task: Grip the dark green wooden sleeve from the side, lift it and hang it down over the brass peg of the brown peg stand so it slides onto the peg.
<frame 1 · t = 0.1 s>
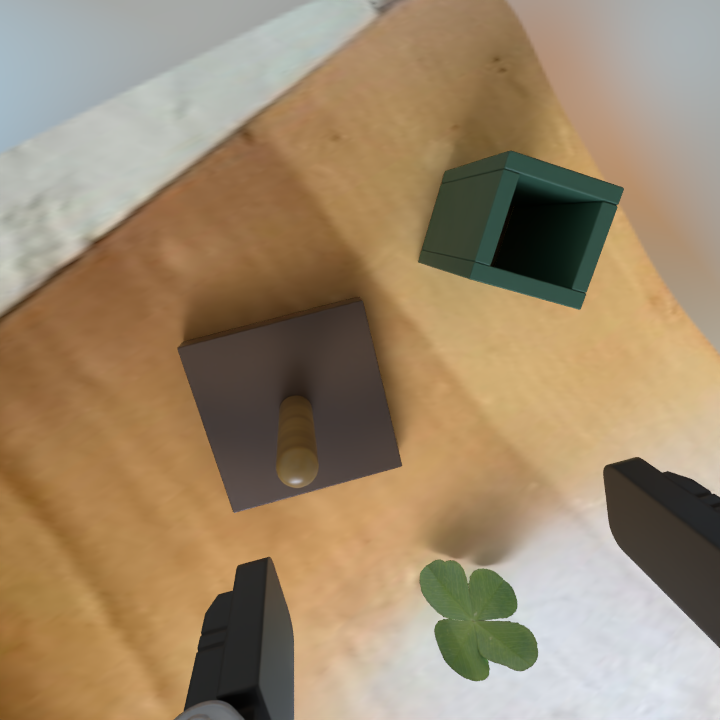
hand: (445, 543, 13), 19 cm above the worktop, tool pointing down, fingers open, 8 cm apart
green leafy piece: (446, 597, 36), on the worktop
sleeve: (473, 229, 30), on the worktop
brown peg stand: (295, 401, 31), on the worktop
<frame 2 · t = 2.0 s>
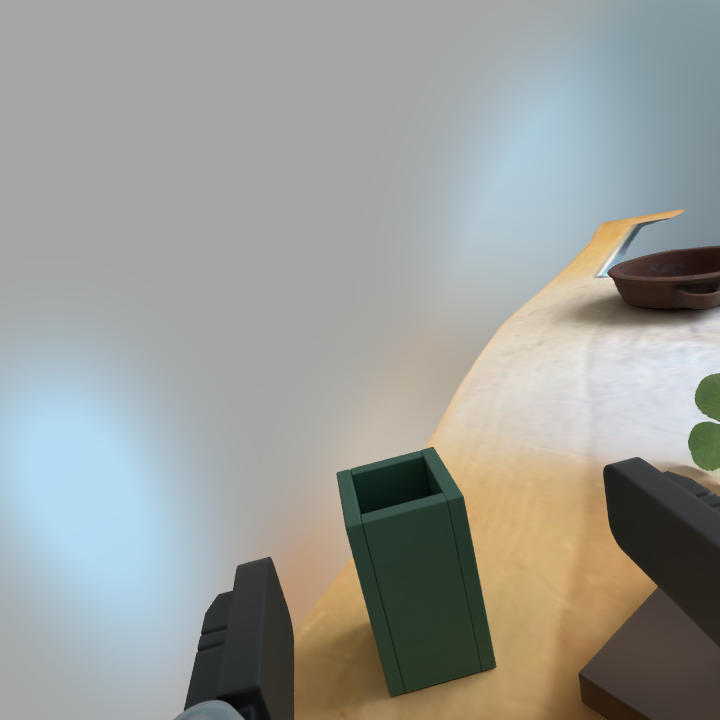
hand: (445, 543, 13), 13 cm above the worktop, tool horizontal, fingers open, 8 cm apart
sleeve: (430, 641, 27), on the worktop
dish: (683, 299, 71), on the worktop
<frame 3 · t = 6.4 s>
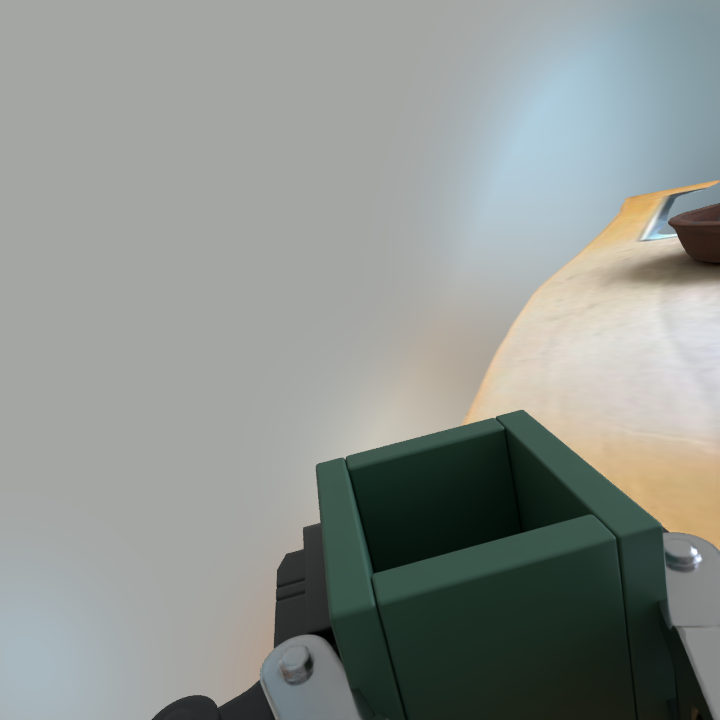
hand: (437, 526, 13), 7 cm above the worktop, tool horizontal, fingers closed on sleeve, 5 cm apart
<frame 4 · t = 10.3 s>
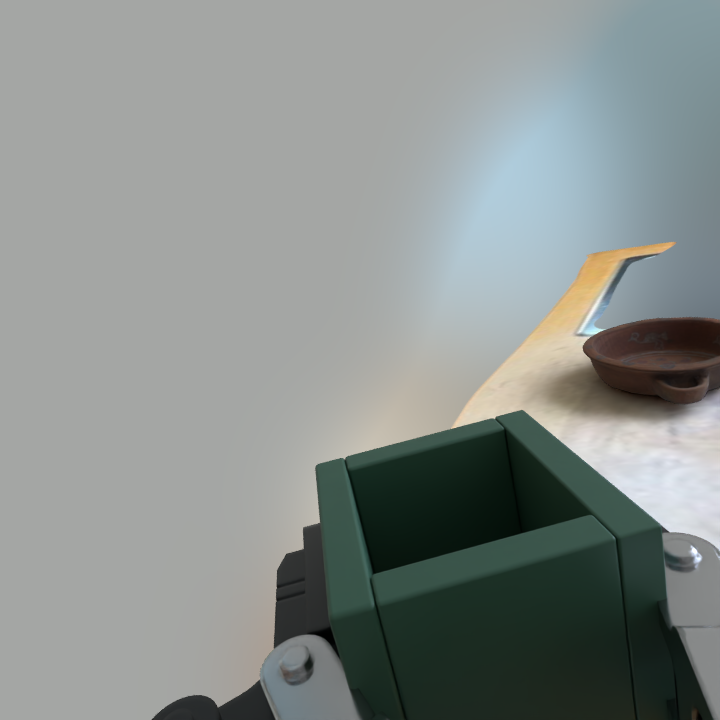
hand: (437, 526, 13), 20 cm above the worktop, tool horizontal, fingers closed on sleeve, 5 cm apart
dish: (665, 378, 65), on the worktop
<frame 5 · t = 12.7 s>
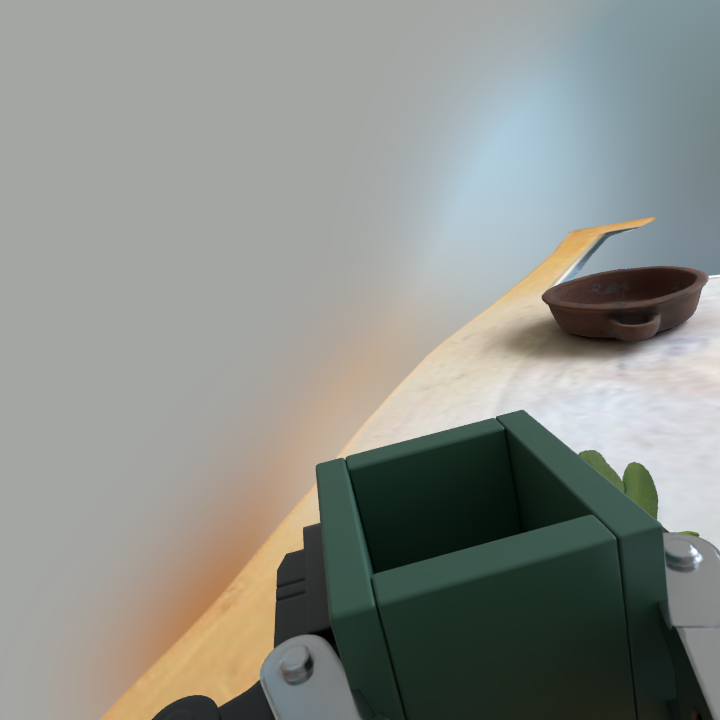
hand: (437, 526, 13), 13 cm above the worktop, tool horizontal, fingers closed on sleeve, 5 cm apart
green leafy piece: (640, 576, 28), on the worktop
dish: (623, 325, 65), on the worktop
when the fingers open (8 cm above the worktop, at t = 14.6 s): sleeve stays where it is, resting on brown peg stand.
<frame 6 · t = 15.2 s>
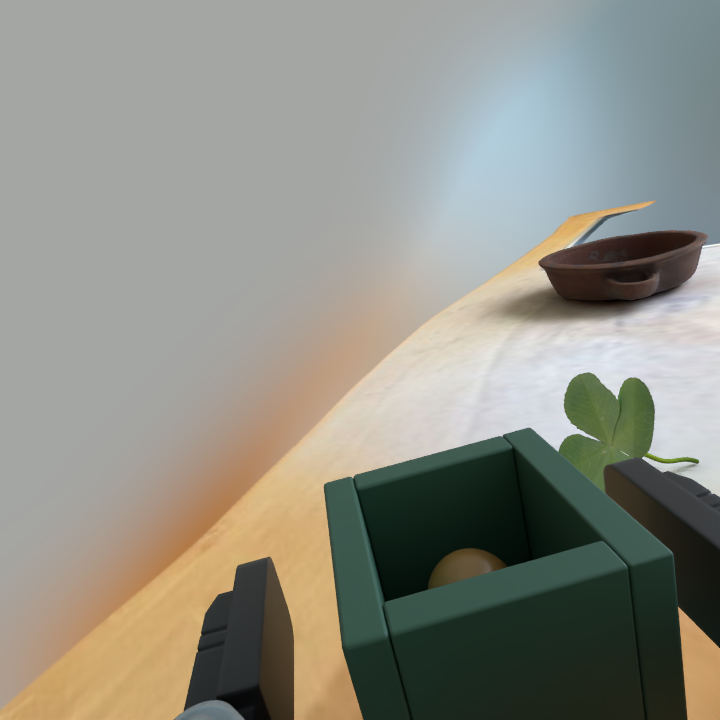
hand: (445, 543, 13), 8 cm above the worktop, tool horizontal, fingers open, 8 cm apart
green leafy piece: (638, 500, 26), on the worktop
dish: (621, 290, 64), on the worktop
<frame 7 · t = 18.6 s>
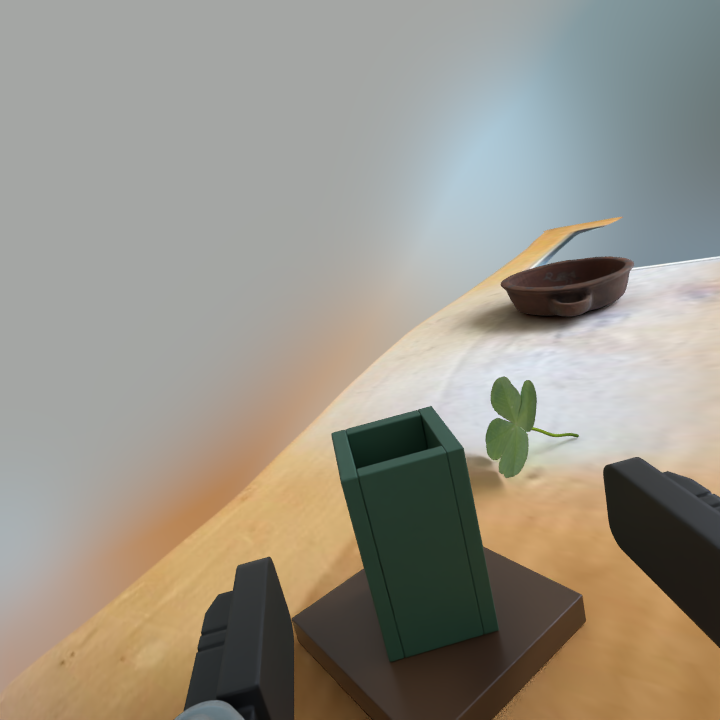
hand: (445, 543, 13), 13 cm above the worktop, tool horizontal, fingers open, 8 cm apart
green leafy piece: (534, 461, 40), on the worktop
sleeve: (430, 607, 26), point 1 cm above the worktop, touching brown peg stand
brown peg stand: (434, 632, 26), on the worktop
dish: (568, 306, 77), on the worktop
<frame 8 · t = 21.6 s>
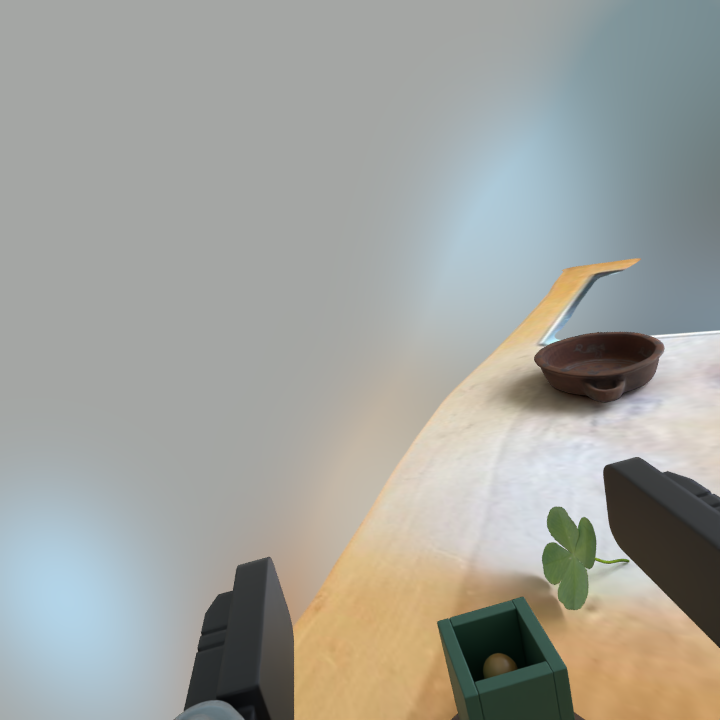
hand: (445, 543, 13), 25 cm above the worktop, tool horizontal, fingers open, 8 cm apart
green leafy piece: (590, 588, 43), on the worktop
dish: (599, 382, 81), on the worktop
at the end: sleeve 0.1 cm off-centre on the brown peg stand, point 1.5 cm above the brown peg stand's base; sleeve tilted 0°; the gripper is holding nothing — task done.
